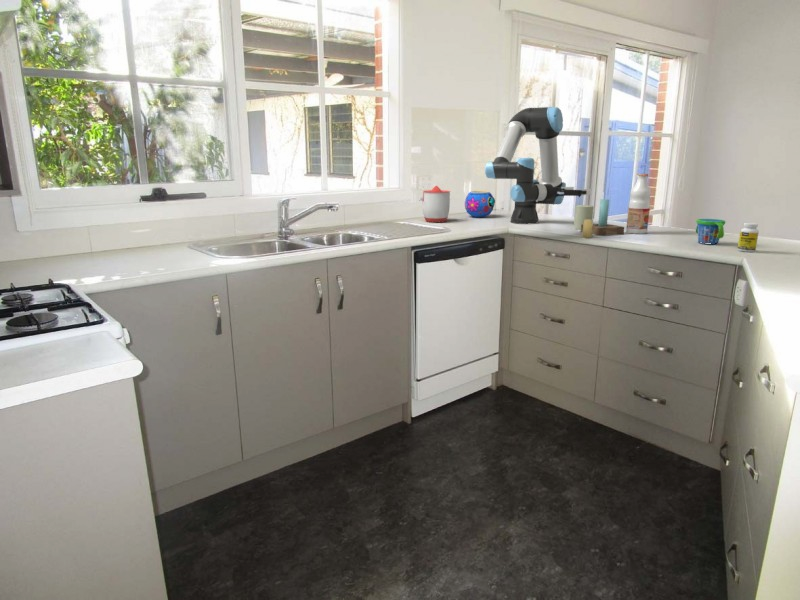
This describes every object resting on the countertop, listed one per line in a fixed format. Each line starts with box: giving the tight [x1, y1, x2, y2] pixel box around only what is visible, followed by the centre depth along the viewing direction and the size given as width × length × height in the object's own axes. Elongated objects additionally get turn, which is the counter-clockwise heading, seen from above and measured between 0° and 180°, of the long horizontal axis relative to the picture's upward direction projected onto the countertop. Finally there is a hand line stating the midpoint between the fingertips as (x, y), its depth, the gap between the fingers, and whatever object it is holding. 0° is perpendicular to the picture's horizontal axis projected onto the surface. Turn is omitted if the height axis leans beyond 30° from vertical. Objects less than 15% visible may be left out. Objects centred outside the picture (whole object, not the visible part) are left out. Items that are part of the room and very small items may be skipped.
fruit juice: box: [626, 173, 652, 235], centre depth 268 cm, size 9×9×28 cm
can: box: [573, 204, 595, 230], centre depth 286 cm, size 9×9×12 cm
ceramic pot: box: [464, 190, 496, 218], centre depth 334 cm, size 18×18×15 cm
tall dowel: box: [597, 198, 610, 227], centre depth 269 cm, size 4×4×16 cm
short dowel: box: [581, 219, 594, 239], centre depth 257 cm, size 4×4×8 cm
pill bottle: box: [737, 222, 759, 253], centre depth 221 cm, size 6×6×11 cm
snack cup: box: [695, 218, 726, 245], centre depth 239 cm, size 16×10×10 cm
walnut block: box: [580, 223, 625, 236], centre depth 271 cm, size 14×14×4 cm
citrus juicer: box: [419, 185, 451, 223], centre depth 313 cm, size 16×17×20 cm
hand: (581, 190), depth 264 cm, fingers open, 13 cm apart
